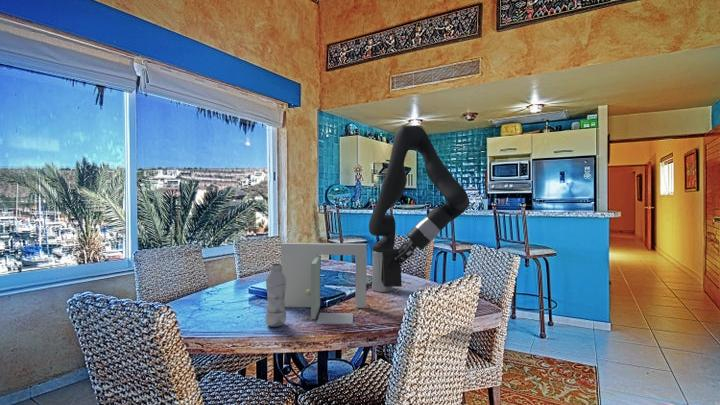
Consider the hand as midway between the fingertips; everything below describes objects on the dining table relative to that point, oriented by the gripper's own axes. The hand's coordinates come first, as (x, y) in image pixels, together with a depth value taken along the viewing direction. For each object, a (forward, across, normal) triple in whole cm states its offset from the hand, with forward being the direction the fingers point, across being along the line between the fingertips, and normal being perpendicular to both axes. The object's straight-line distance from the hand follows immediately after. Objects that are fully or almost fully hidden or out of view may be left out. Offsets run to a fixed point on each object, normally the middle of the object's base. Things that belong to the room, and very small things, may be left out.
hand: (388, 267), depth 132 cm
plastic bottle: (+39, +9, -14) cm, 42 cm away
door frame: (+29, -3, -4) cm, 29 cm away
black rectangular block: (+3, 0, +5) cm, 6 cm away
